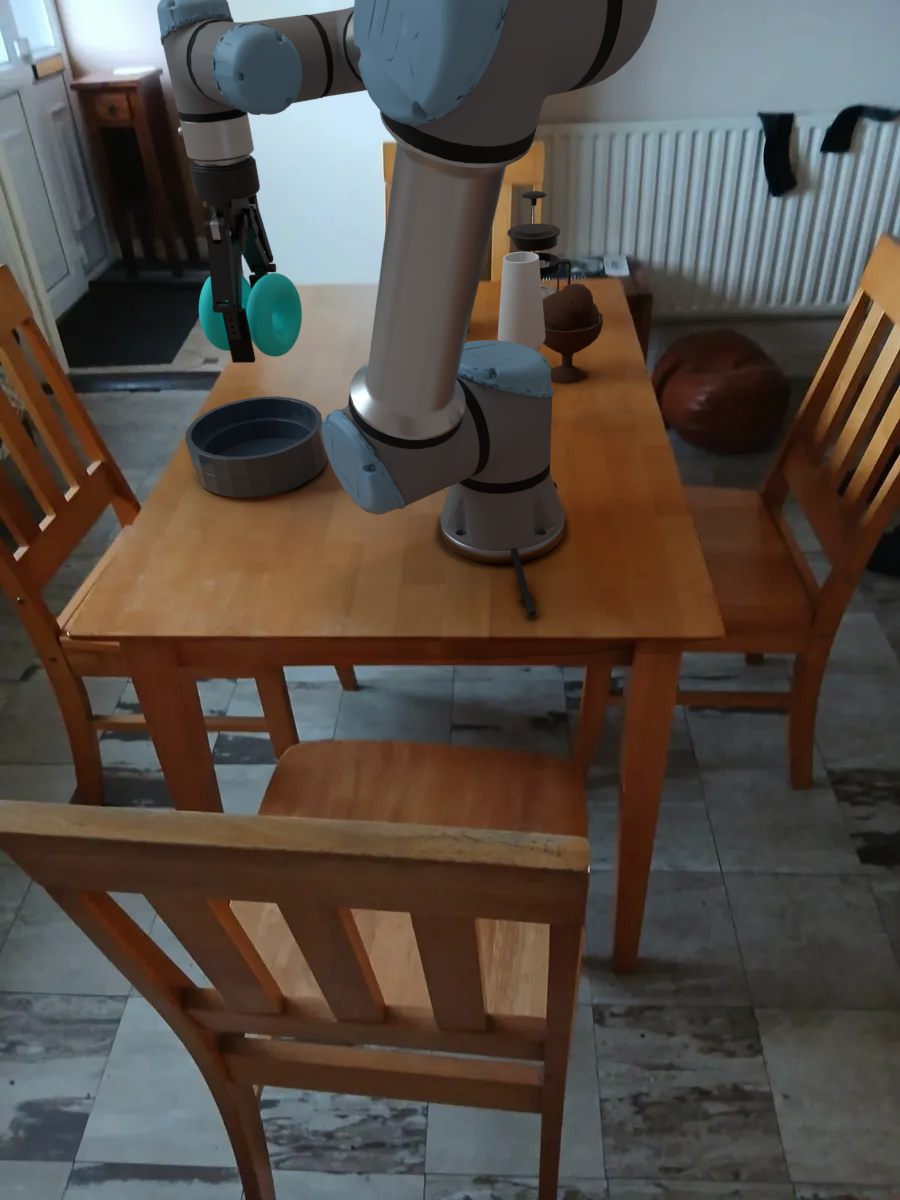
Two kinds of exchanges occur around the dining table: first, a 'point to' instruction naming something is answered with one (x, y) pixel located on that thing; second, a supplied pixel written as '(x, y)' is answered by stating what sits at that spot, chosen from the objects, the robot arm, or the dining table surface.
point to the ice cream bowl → (570, 327)
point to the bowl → (257, 446)
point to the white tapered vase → (521, 301)
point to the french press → (539, 243)
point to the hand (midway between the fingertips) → (256, 342)
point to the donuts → (258, 314)
